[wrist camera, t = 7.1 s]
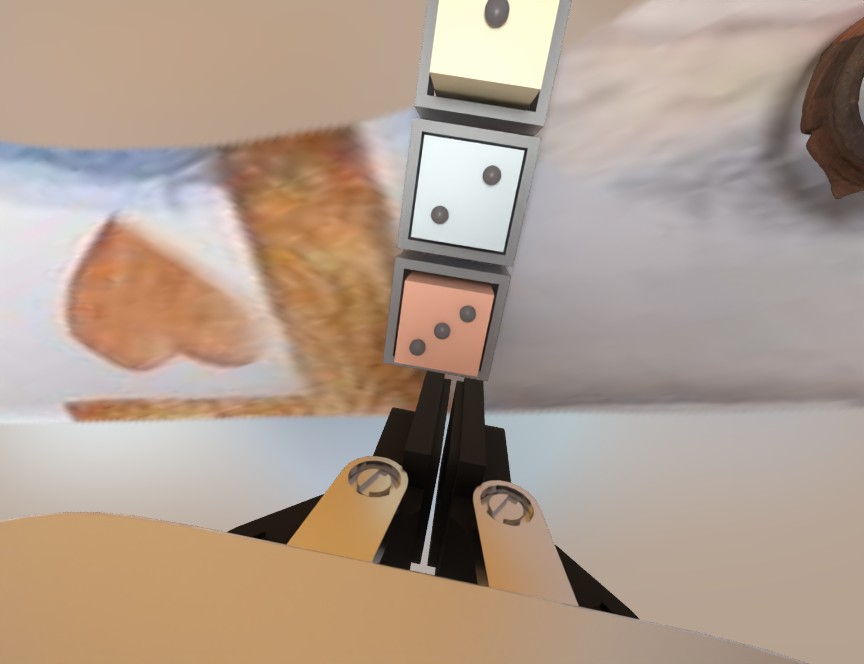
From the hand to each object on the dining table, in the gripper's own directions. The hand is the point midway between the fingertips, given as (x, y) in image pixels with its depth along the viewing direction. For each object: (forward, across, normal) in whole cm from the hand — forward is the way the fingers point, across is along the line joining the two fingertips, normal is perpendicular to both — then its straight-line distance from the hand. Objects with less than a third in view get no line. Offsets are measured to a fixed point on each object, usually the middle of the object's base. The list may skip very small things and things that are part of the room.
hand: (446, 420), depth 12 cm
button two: (+13, +1, -6) cm, 14 cm away
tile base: (+13, +1, 0) cm, 13 cm away
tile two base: (+13, +1, -6) cm, 15 cm away
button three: (+13, +1, 0) cm, 13 cm away
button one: (+12, +1, -13) cm, 17 cm away
